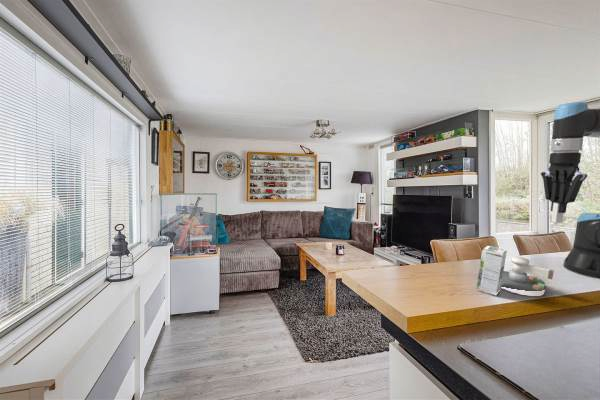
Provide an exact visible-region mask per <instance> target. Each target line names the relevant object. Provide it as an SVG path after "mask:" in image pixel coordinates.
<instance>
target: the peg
mask: <svg viewBox="0 0 600 400" xmlns="http://www.w3.org/2000/svg"><path fill="white" fill-rule="evenodd" d="M510 262H511V263H512V269H511V270H512V271H514V272H516V273H521V274H524V273H527V274H529V275H532V276H536V277H541V278H545V279H547V280H553V277H554V272H555V270H553V269H549V268H543V267H539V266H535V265H532V264H530V260H529V259H528V258H525V257H522V256H512V257H511V260H510Z"/></svg>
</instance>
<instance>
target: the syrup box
mask: <svg viewBox="0 0 600 400" xmlns="http://www.w3.org/2000/svg"><path fill="white" fill-rule="evenodd" d="M480 257H481V258H480V264H479V268H478V269H479V270H478V275H477V282H476V289H479V290H484V291H489V292H495V293H497V292H498V291H499V290H500V291H501V290H502V289H501V283H502V277H503V271H505V263H506V259H507V249H504V248H501V247H497V246H493V245H487V246H485V247H484V248H483V249H482V251H481V256H480ZM476 289H475V290H476Z"/></svg>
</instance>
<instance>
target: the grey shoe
mask: <svg viewBox="0 0 600 400" xmlns="http://www.w3.org/2000/svg"><path fill="white" fill-rule="evenodd" d="M501 287H506V288H511V289H517V290H525V291H542V290H545V289H546V288H547V287H546V282H545V281H544V280H543V279H541V278H539V276H537V275H528V273H524V274H521V273H516V272H514V271H512V269H510V270H509V271H508V270H507V271H505V270H504V271H503V277H502V283H501ZM546 290H547V289H546ZM546 290H545V291H546Z"/></svg>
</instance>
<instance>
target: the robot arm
mask: <svg viewBox="0 0 600 400" xmlns="http://www.w3.org/2000/svg"><path fill="white" fill-rule="evenodd" d="M551 127H552V128H551V130H552V133H551V143H550V151H551V153H550V154H549V161H548V163H549V164H550V165H549V166H548V169H547V170H546V171H542V172H540V175H541V177H542V180H543V181H542V183H543V189H544V195H545V200H547V201H550V202H551V203H550V204H551V205H550V211H551V222H552V223H563V222H564V215H565V213H566V212H567V207H568V204H570V203H571V204H572V203H575V202H576V199H577V197H578V194H579V192H580V190H581V187H582V185H583V182H584V181H585V180H586V179H587V177H588V174H586V173H583V172H581V171H580V166H579V164H580V163H581V157H582V153H581V152H580V151H582V150H583V144H584V137H589V138H600V107H599V108H589V107H588V103H587V102H586V101H575V102H566V103H561V104H558V105H557V106H556V107H555V111H554V117H553V122H552V126H551ZM563 267H564V268H565V269H567V270H569V271H571V272H573V273H576V274H579V275H583V276H586V277H590V278H595V277H596V278H595V279H600V213H597V212H596V213H593V212H583V213H581V214H580V215H579V216H578V219H577V221H576V227H575V233H574V240H573V244H572V249H571V251H570V252H569V253H568V255H567V256H566V257H565V259H564V260H563Z"/></svg>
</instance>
